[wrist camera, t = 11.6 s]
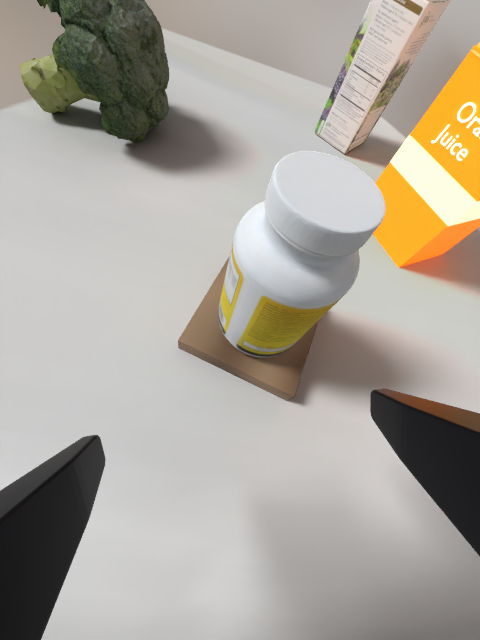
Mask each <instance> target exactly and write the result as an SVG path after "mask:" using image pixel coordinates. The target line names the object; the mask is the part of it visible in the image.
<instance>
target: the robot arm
mask: <svg viewBox="0 0 480 640" xmlns="http://www.w3.org/2000/svg"><path fill="white" fill-rule="evenodd" d="M370 411H371V416H372V419H373V420H374V422H375V423H376V425H377V426H378V428H379V429H380V431H381V432H382V434H383V435H384V437H385V438H386V439H387V441H388V442H389V444H390V445H391V447H392V448H393V450H394V451H395V453H396V454H397V455H398V457H399V458H400V460H401V461H402V462H403V463H404V465H405V466H406V467H407V468H408V470H409V471H410V472H411V473H412V474H413V476H414V477H415V478H416V479H417V481H418V482H419V483H420V484H421V485H422V487H423V488H424V489H425V490H426V492H427V493H428V494H429V495H430V496H431V498H432V499H433V500H434V501H435V502H436V504H437V505H438V506H439V507H440V509H441V510H442V511H443V512H444V513H445V515H446V516H447V517H448V518H449V520H450V521H451V522H452V523H453V524H454V526H455V527H456V528H457V529H458V530H459V532H460V533H461V534H462V535H463V537H464V538H465V539H466V540H467V541H468V543H469V544H470V545H471V546H472V548H473V549H474V550H475V551H476V552H477V554H478V555H479V556H480V414H479V413H476V412H472V411H468V410H464V409H460V408H457V407H453V406H449V405H445V404H441V403H438V402H434V401H430V400H426V399H422V398H419V397H415V396H411V395H407V394H403V393H400V392H396V391H392V390H388V389H376V390H373V391H372V392H371V409H370ZM104 467H105V455H104V451H103V447H102V443H101V439H100V437H99V436H98V435H92V436H86V437H83V438H81V439H80V440H78V441H77V442H75V443H73V444H72V445H70V446H69V447H67V448H66V449H64V450H63V451H61V452H60V453H58V454H56V455H55V456H53V457H52V458H50V459H49V460H47V461H46V462H44V463H42V464H41V465H39V466H38V467H36V468H35V469H33V470H32V471H30V472H29V473H27V474H25V475H24V476H22V477H21V478H19V479H18V480H16V481H15V482H13V483H12V484H10V485H8V486H7V487H5V488H4V489H2V490H1V491H0V640H41V638H42V636H43V633H44V631H45V628H46V626H47V623H48V621H49V618H50V616H51V613H52V611H53V608H54V606H55V603H56V600H57V598H58V595H59V593H60V590H61V588H62V585H63V583H64V580H65V578H66V575H67V573H68V570H69V568H70V565H71V563H72V560H73V558H74V555H75V553H76V550H77V548H78V545H79V543H80V540H81V538H82V535H83V533H84V530H85V528H86V525H87V523H88V520H89V517H90V514H91V511H92V508H93V504H94V501H95V497H96V494H97V491H98V487H99V484H100V480H101V477H102V473H103V470H104Z"/></svg>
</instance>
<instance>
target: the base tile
mask: <svg viewBox="0 0 480 640" xmlns="http://www.w3.org/2000/svg"><path fill="white" fill-rule="evenodd" d="M229 257H230V256H229ZM228 262H229V258H228V260H227V261H226V263H225V265H224V266H223V268H222V269H221V271H220V273H219V274H218V276H217V278H216V279H215V281H214V283H213V284H212V286H211V287H210V289H209V291H208V292H207V294H206V296H205V297H204V299H203V301H202V302H201V304H200V305H199V307H198V309H197V310H196V312H195V314H194V315H193V317H192V319H191V320H190V322H189V324H188V325H187V327H186V328H185V330H184V332H183V333H182V335H181V337H180V338H179V340H178V348H180V349H182V350H184V351H186V352H188V353H190V354H192V355H194V356H196V357H198V358H200V359H203V360H205V361H207V362H209V363H211V364H213V365H215V366H217V367H219V368H221V369H223V370H225V371H227V372H229V373H231V374H233V375H235V376H237V377H239V378H241V379H244V380H246V381H248V382H250V383H252V384H254V385H256V386H258V387H260V388H262V389H264V390H266V391H268V392H270V393H272V394H274V395H276V396H278V397H280V398H283V399H285V400H289V399H291V398H293V397H294V396H295V393H296V389H297V386H298V383H299V380H300V377H301V374H302V370H303V367H304V364H305V361H306V358H307V354H308V351H309V348H310V345H311V342H312V339H313V335H314V332H315V329H316V326H317V323H318V321H317V322H316V323H315V324H314V325H313V326H312V327H311V328H310V329H309V330H308V331H307V332H306V333H305V334H304V335H303V336H302V337H301V338H300V339H299V340H298V341H297V342H296V343H295V344H294V345H293V346H292V347H290V348H289V349H288V350H287V351H285V352H283V353H281V354H279V355H276V356H273V357H255V356H251V355H248V354H245V353H243V352H241V351H240V350H238V349H237V348H235V347H234V346H233V345H232V344H231V343H230V342H229V341H228V340H227V339H226V337H225V336H224V334H223V332H222V330H221V328H220V325H219V320H218V307H219V302H220V297H221V293H222V289H223V284H224V280H225V275H226V271H227V266H228Z"/></svg>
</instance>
